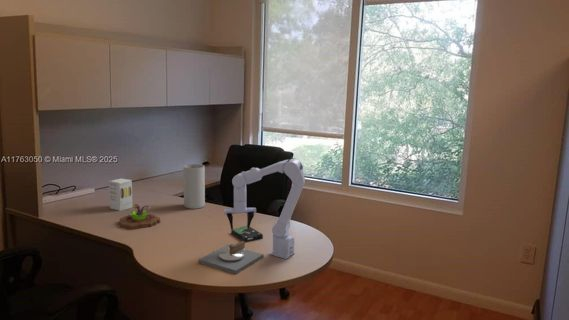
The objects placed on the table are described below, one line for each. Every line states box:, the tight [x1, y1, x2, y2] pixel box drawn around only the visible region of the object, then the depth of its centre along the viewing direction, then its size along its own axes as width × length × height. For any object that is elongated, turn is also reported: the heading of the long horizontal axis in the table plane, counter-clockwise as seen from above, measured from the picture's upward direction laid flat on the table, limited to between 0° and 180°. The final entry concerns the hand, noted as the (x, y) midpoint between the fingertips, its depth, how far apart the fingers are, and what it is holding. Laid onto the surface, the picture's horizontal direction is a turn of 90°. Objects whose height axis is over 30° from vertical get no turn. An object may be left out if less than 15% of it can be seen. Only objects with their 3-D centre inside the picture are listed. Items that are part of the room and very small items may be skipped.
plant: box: [119, 203, 161, 231], centre depth 235 cm, size 20×20×11 cm
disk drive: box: [230, 225, 264, 243], centre depth 221 cm, size 10×3×15 cm
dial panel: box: [198, 244, 264, 275], centre depth 191 cm, size 20×20×2 cm
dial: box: [219, 240, 246, 262], centre depth 192 cm, size 14×11×5 cm
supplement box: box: [108, 177, 133, 212], centre depth 259 cm, size 10×9×17 cm
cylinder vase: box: [182, 163, 206, 210], centre depth 266 cm, size 12×12×25 cm
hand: (240, 228), depth 202 cm, fingers open, 7 cm apart
